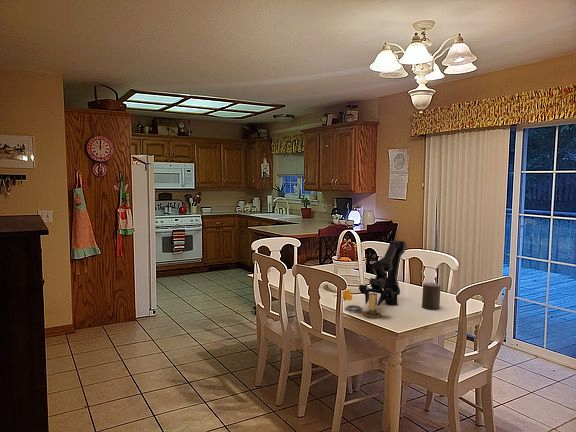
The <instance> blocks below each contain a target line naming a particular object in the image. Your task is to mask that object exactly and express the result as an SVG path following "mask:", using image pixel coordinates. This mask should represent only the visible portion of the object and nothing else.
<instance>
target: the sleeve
mask: <svg viewBox="0 0 576 432" xmlns="http://www.w3.org/2000/svg"><path fill="white" fill-rule="evenodd" d="M377 304H378V293H373V292H369V300H368V310H367V311H368V315H377V312H378V306H377Z"/></svg>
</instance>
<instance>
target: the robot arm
mask: <svg viewBox="0 0 576 432" xmlns="http://www.w3.org/2000/svg"><path fill="white" fill-rule="evenodd" d="M406 249H407V242H406V241H404V240H396V239H395V240H391V241H389V244H388V248H387V249H386V252H385V254H384V257H382V258H380V260H379V259H377V260H376V261H375V262H373V263H372V264H371V268H372V271H373V273H374V275H375V278H374V277H373V278H372V277H370V278H369V282H368V284H369V285H370V288H369V287H368V285H367V284H359V285H358V290H359V292H360V294H362V295H364V296H365V305H367V304H369V294H370V293H375V294H380V296H379V299H378V300H377V307H379V306H380V305H382V303H385V305H389V306H398V304H399V303H398V296H400V294H401V288H400V286H399V281H398V273H399V268H400V262H401V257H402V255H403V254H404V253H405V252H406ZM388 273H389V274H388Z"/></svg>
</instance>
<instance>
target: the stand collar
mask: <svg viewBox="0 0 576 432" xmlns="http://www.w3.org/2000/svg"><path fill="white" fill-rule="evenodd" d="M368 311H369V310H367V311H364V313H363V315H364V318H367V319H371V320H372V319H373V320H375V319H381V318H382V313H381V312H379V311H377V315H368Z"/></svg>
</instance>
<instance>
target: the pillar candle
mask: <svg viewBox="0 0 576 432" xmlns="http://www.w3.org/2000/svg"><path fill="white" fill-rule="evenodd" d="M440 305H441V284H440V283H435V282H424V283H423V284H422V301H421V308H423V309H424V310H425V309H426V310H430V311H438V310H440Z"/></svg>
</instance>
